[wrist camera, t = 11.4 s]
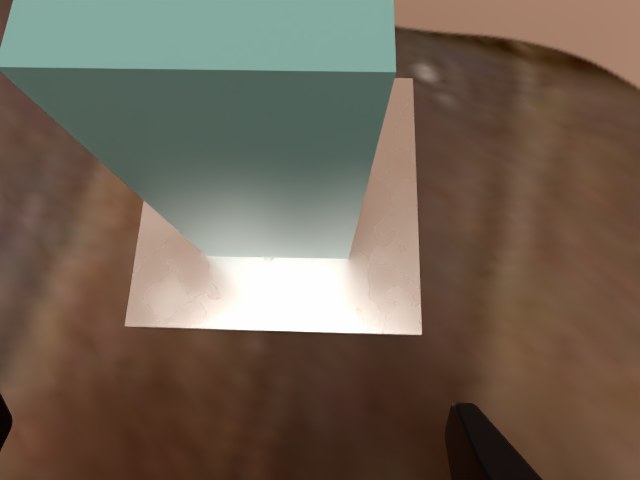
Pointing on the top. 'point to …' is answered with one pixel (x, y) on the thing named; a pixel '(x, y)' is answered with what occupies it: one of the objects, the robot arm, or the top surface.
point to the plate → (298, 263)
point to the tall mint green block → (220, 109)
